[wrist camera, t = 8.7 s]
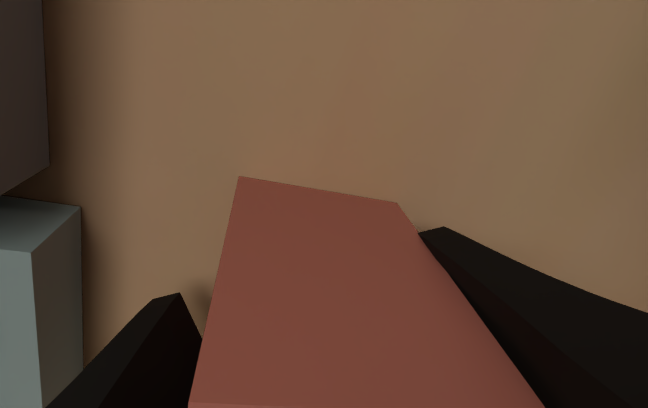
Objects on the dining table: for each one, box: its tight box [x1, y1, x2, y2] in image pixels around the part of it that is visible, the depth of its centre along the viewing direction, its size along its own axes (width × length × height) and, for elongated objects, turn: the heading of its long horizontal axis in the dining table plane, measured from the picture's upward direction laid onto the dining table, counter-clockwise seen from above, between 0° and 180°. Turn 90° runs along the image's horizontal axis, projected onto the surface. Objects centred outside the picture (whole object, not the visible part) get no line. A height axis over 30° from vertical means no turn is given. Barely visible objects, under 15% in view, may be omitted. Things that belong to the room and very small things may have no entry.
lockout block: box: [188, 176, 545, 408], centre depth 7 cm, size 4×4×6 cm
